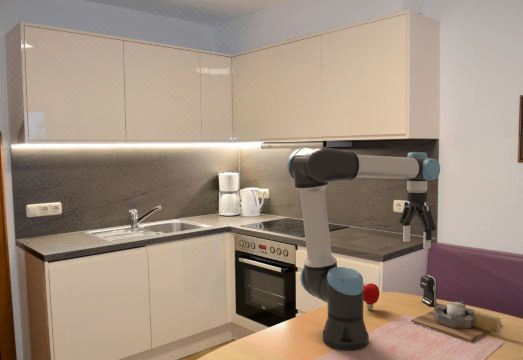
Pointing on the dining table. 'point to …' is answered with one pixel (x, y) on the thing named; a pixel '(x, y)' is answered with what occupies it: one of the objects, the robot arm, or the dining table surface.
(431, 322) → the mount plate
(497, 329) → the ring nut
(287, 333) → the dining table surface
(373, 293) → the light bulb
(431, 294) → the battery charger
